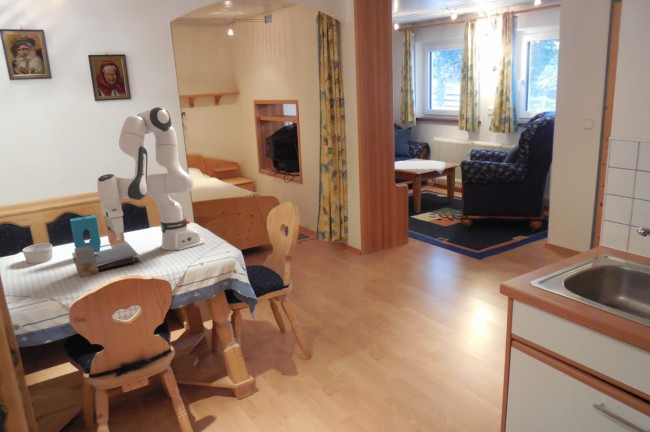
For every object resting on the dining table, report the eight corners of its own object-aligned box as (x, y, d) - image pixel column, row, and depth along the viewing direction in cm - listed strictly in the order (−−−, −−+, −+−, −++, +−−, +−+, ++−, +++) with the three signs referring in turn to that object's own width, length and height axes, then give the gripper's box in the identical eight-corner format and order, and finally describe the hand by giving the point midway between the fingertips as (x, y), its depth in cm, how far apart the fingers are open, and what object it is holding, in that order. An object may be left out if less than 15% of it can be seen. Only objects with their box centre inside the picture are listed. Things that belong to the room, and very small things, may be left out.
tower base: (95, 269, 243) (93, 257, 241) (98, 273, 236) (96, 261, 235) (77, 273, 239) (75, 260, 237) (80, 278, 232) (77, 265, 230)
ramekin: (30, 266, 250) (27, 253, 248) (21, 261, 259) (18, 248, 257) (58, 259, 259) (56, 246, 258) (48, 254, 268) (46, 241, 266)
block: (77, 259, 257) (70, 221, 252) (76, 256, 262) (69, 219, 256) (103, 254, 263) (96, 217, 258) (101, 252, 267) (95, 215, 262)
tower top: (92, 257, 240) (90, 245, 239) (95, 261, 235) (93, 249, 233) (76, 260, 237) (74, 248, 235) (78, 265, 231) (76, 252, 230)
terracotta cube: (122, 239, 246) (119, 227, 244) (125, 242, 241) (122, 230, 239) (108, 242, 243) (106, 230, 241) (111, 245, 238) (109, 233, 236)
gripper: (100, 206, 244) (105, 234, 248) (109, 215, 228) (114, 245, 232) (113, 204, 247) (118, 231, 251) (123, 213, 231) (128, 241, 235)
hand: (116, 237), depth 241 cm, fingers closed on terracotta cube, 6 cm apart
